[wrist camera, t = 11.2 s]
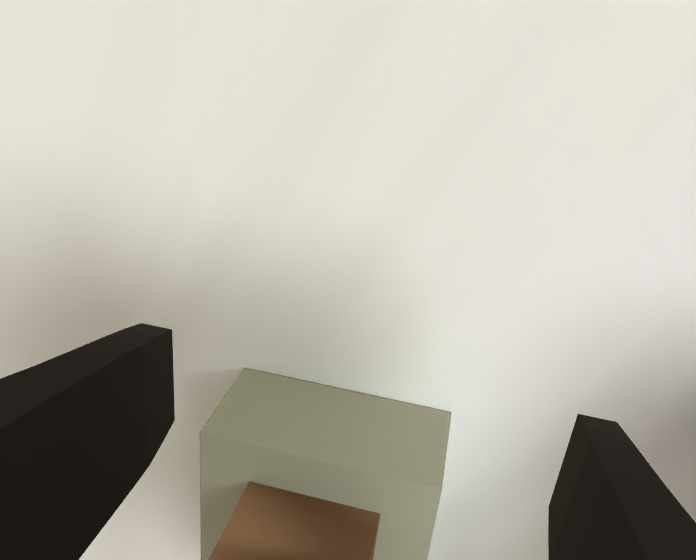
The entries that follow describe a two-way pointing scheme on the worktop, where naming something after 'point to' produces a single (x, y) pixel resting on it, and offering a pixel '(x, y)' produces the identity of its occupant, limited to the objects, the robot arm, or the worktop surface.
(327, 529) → the walnut cube
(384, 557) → the sage base block
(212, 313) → the worktop surface
